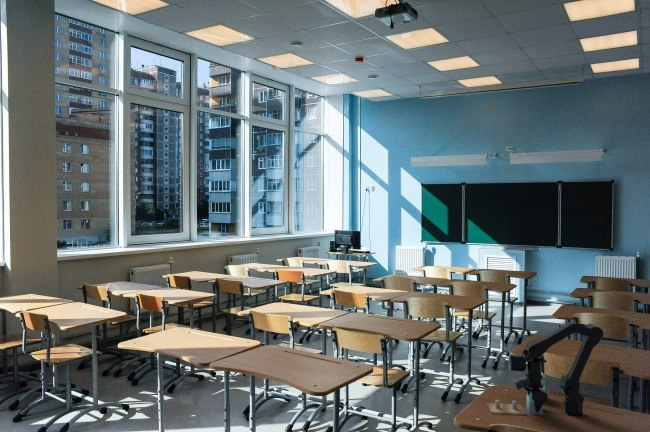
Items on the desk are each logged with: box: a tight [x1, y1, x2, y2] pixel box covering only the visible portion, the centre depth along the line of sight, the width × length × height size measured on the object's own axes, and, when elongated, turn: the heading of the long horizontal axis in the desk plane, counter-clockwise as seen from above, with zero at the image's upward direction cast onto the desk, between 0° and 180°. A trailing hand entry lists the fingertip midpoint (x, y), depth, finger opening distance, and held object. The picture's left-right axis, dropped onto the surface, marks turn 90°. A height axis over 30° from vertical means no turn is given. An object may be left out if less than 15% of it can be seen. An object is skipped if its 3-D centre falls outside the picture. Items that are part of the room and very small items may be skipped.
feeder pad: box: [522, 406, 547, 416], centre depth 218 cm, size 8×8×1 cm
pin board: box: [486, 399, 527, 416], centre depth 220 cm, size 14×10×4 cm
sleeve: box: [525, 394, 543, 414], centre depth 218 cm, size 5×5×6 cm
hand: (534, 408), depth 218 cm, fingers open, 9 cm apart
